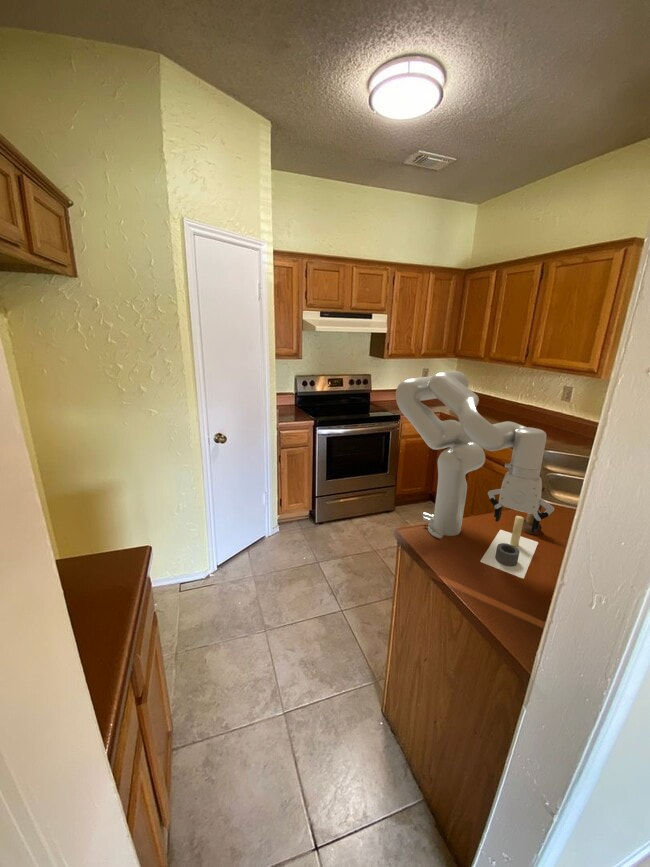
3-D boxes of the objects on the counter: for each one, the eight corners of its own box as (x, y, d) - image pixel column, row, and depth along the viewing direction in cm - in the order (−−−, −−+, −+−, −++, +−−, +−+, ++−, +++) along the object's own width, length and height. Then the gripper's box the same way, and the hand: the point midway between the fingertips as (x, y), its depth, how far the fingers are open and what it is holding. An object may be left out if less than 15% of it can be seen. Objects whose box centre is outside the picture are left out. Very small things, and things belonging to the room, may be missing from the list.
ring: (493, 560, 111) (495, 549, 110) (498, 552, 115) (500, 541, 114) (514, 569, 107) (516, 557, 106) (518, 559, 112) (521, 548, 110)
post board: (479, 565, 111) (485, 532, 107) (499, 533, 129) (505, 504, 125) (522, 583, 104) (530, 548, 100) (537, 546, 122) (544, 515, 118)
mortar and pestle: (521, 532, 129) (531, 486, 124) (518, 523, 135) (527, 479, 130) (542, 536, 128) (553, 489, 122) (538, 526, 134) (548, 482, 128)
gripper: (488, 467, 105) (481, 520, 109) (558, 483, 94) (546, 541, 99) (495, 460, 110) (488, 511, 115) (562, 474, 100) (550, 529, 105)
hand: (515, 525), depth 107 cm, fingers open, 9 cm apart
